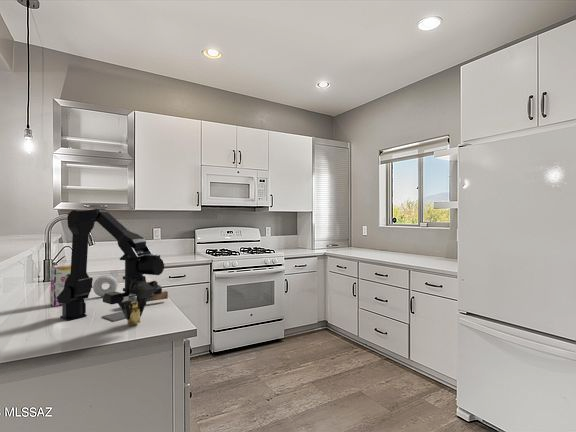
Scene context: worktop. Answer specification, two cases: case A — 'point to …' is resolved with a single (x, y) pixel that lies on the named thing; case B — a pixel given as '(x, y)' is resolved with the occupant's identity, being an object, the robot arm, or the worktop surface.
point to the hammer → (155, 297)
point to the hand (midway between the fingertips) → (133, 318)
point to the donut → (103, 279)
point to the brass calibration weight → (134, 313)
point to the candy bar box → (58, 282)
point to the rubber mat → (115, 316)
